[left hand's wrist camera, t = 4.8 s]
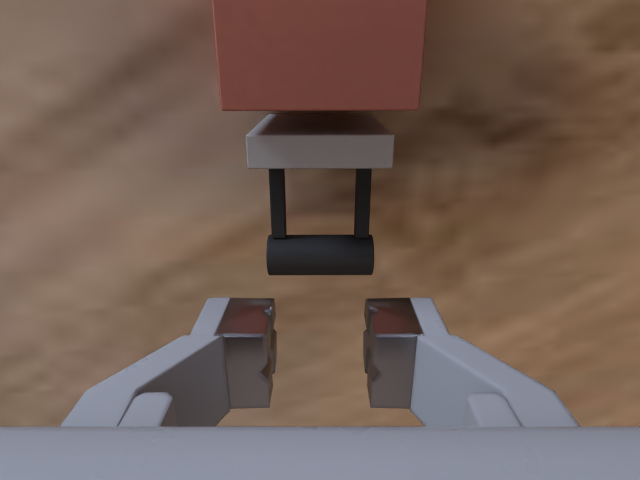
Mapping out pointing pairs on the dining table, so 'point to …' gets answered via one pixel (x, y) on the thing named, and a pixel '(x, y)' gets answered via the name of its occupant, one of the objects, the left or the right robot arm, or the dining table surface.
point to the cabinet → (319, 54)
